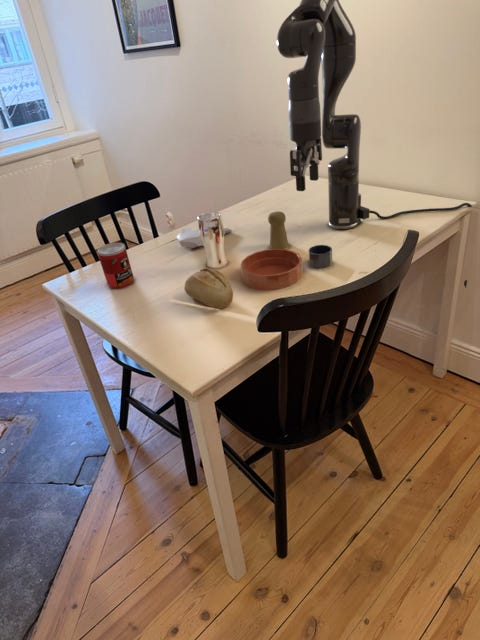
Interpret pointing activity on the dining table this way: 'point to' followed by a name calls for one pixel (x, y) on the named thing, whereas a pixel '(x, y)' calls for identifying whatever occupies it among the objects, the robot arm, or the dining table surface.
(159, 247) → the dining table surface
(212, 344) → the dining table surface
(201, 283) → the bread roll
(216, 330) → the dining table surface
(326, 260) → the bowl
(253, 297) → the dining table surface
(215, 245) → the beer glass
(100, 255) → the canned food
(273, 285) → the serving bowl
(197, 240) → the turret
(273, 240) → the cork
